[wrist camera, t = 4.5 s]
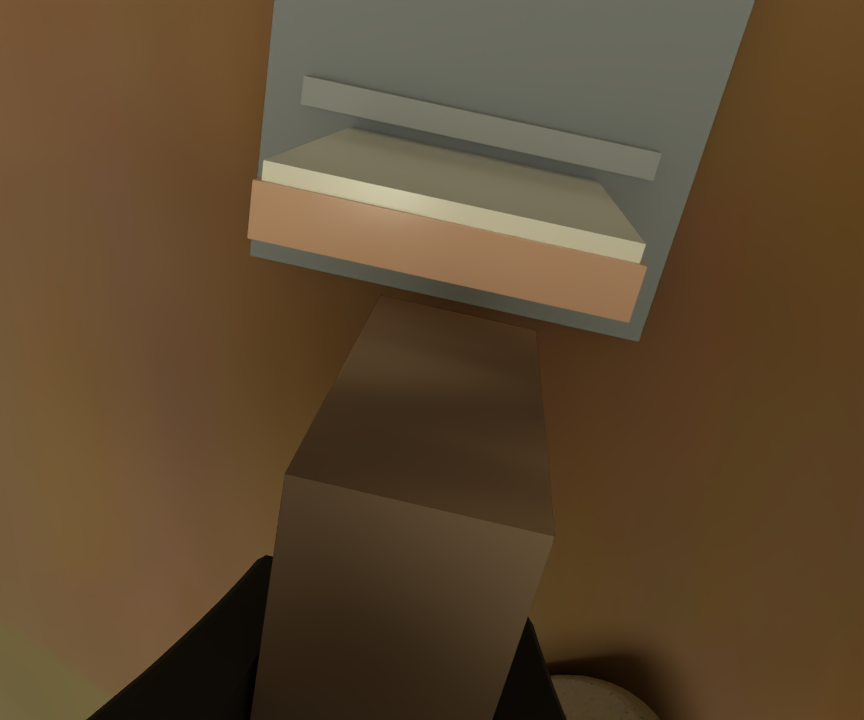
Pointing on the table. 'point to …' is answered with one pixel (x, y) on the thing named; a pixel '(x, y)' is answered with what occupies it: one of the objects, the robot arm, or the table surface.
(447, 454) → the bar
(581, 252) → the tile
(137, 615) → the table surface
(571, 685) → the ceramic mug
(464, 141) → the mat
